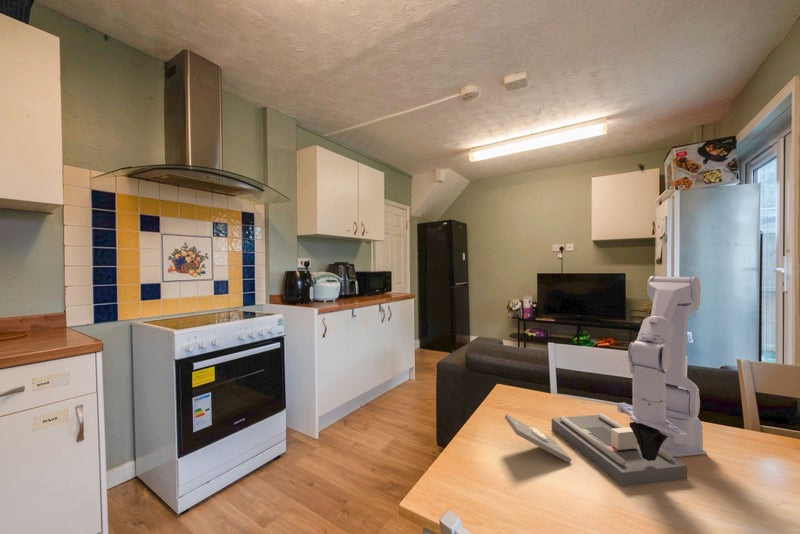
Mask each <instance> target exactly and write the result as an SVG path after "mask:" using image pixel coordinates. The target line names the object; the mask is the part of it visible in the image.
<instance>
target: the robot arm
mask: <svg viewBox="0 0 800 534" xmlns="http://www.w3.org/2000/svg"><path fill="white" fill-rule="evenodd" d="M646 283H647V284H646V293H647V295H648V297H649V299H650V302H651V303H652V307H651V313H650V316H648V317H645V318H644V319H643V321H642V323H641V325H640V329H639V331H638V335H637V337H636V339H635V340H634V341H631V342H630V344H629V345H628V349H627V350H628V351H627V359H628V363H629V372H630V373H629V374H632V405H631V404H629V403H626V402H618V403H617V412H618V413H621V414H622V413H623V414H625V415H627V416H629V420H630V421H631V422H629V424H628V425H629V426H628V427H630V428H631V429H632V431H633V432H634V434H635V436H636V439H637V441H638V444H639V447H640V451H641V454H642V457H643V458H644V459H646V460H647V461H653V460H656V457H657V454H658V451H659V449H660V448H661V449H663V450H664V451H666V452H668V453H669V454H671V455H672V456H673V457H674V458H677V457H678V458H679V457H688V456H697V455H698V456H699V455H706V454H708V453H707V451H706V450H704V446H703V444H704V442H703V441H704V438H703V437H704V430H703V429H704V428H703V424H702V421H701V419H700V418H699V417H698V416H699V413H700V410H701V409H700V408H701V399H700V389H699V386H697V384H696V383H695V382H693V381H692V380H691V379H689V378H688V377H687V376H686V374H685V373H686V358H687V355H686V354H687V339H688V337H687V336H688V320H689V317H690V315H691V313H692V312H696V311H698V310H699V307H700V305H701V281H700V279H699V278H698V277H697V276H656V275H651V276H650V277H649V278H648V280H647V282H646ZM666 384H667V385H666ZM674 386H675V387H674ZM679 387H680V388H679Z"/></svg>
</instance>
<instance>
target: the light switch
mask: <svg viewBox="0 0 800 534" xmlns="http://www.w3.org/2000/svg"><path fill="white" fill-rule="evenodd" d="M504 420H506V422H507V423H508V424H509V426H510V427H511V429H512V430H513V432H514V433H515V435H517V436H519V437H521V438H523V439H524V440H526V441H528V442H530V443H532V444H534V445H535V446H537V447H539V448H541V449H543V450H545V451H547V452H548V453H551V454H552V455H553V456H556V457H557V458H559V459H561V460H563V461H564V462H567V463H568V464H570V463H571V461H572V458H571V457H570V455H569V454H568V453H567V452H566V451H564V449H563V448H562V447H561V446H560V445H559V443H558V442H557V441H556V440H555V439H553V438H552V437H550V436H547V434H544V433H542V431H540V430H538V429H537V428H536V427H535V428H534V427H533V426H530V425H527V424H526V423H524V422H522V421H520V420H518V419H517V418H514V417H513V416H511V415H509V414H506V415H505V416H504Z"/></svg>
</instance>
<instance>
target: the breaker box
mask: <svg viewBox="0 0 800 534" xmlns="http://www.w3.org/2000/svg"><path fill="white" fill-rule="evenodd" d="M564 417H565V418H566V419H568V420H569V421H571V422H572V423H573V424H575V425H576V426H578V427H579V428H581V429H582V430H583V431H585V432H586V433H588V434H589V435H590V436H592V437H593V438H595V439H596V440H597V441H599V442H600V443H602V444H603V445H604V446H606V447H607V448H609V449H610V450H611V451H613V452H614V453H616V454H617V455H619V456H620V457H621V458H623V459H624V460H625V461H626V464H625V465H624V466H622V465H620V464H619V463H617V462H616V461H615V460H613V459H612V458H611V457H609V456H608V455H607V454H605V453H604V452H603V451H601V450H600V449H599V448H597V447H596V446H594V445H593V444H592V443H590V442H589V441H588V440H586V439H585V438H584V437H582V436H581V435H580V434H578V433H577V432H576V431H574V430H573V429H572V428H570V427H569V426H567V425H566V424H565V423H563V422H562V421H561V420H560V417H553V418H551V430H553V431H554V433H557V434H558V435H559V436H560V437H561V438H562V439H563V440H565V441H566V442H567V443H569V445H571V447H573V448H575V449H576V450H577V451H578V452H580V453H581V454H582V455H583V456H585V458H587V459H588V460H589V461H591V462H592V463H593V464H594V465H596V467H597V468H599V469H600V470H601V471H602V472H604V473H605V474H606V475H608V476H609V477H610V478H611V479H613V480H614V481H615V483H617V484H618V485H620V487H622V488H624V487H631V486H632V487H633V486H641V485H650V484H658V483H659V484H660V483H667V482H676V481H677V482H678V481H683V480H684V481H685V480H688V478H689V476H688V465H687V464H685V463H684V462H682V461H681V460H678V459H677V457H674V456H673V459H672V460H671V461H669V460H667V459H666V458H664V457H662V456H661V455H659V454H657V457H656V460H653V461H647V460H646V459H644V458H643V457H642V454H641V451H640V447H639V444H638V441H637V448H633V449H623V450H618V449H616V448H615V447H613V446H612V445H611V429H613V428H615V427H613V426H612V425H610V424H609V423H607V422H605V421H604V420H602V419H600V418H599V417H598V414H592V415H590V414H589V415H581V416H580V415H578V416H577V415H576V416H567V417H566V416H564Z"/></svg>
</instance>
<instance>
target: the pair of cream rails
mask: <svg viewBox="0 0 800 534" xmlns="http://www.w3.org/2000/svg"><path fill="white" fill-rule="evenodd" d="M597 415H598V417H599V418H600V419H602V420H604V421H605V422H607V423H609V424H610V425H612V426H613V427H615V428H625V427H626V426H623V425H622V424H620V423H618V422H617V421H616V420H613V419H612V418H611V417H608V416H606V415H605V414H604V413H601V412H599V413H597ZM565 417H566V416H563V415H561V416H560V417H559V418H560V420H561V421H562V422H563V423H565V424H566V425H567V426H569V427H570V428H572V429H573V430H574V431H576V432H577V433H578V434H580V435H581V436H582V437H584V438H585V439H586V440H588V441H589V442H590V443H592V444H593V445H594V446H596V447H597V448H599V449H600V450H601V451H603V452H604V453H605V454H607V455H608V456H609V457H611V458H612V459H613V460H615V461H616V462H617V463H619V464H620V465H622V466H624V465H625V464H626V461H625V460H624V459H623V458H621V457H620V456H619V455H617V454H616V453H614V452H613V451H611V450H610V449H609V448H607V447H606V446H604V445H603V444H602V443H600V442H599V441H597V440H596V439H595V438H593V437H592V436H590V435H589V434H588V433H586V432H585V431H583V430H582V429H581V428H579V427H578V426H576V425H575V424H573V423H572V422H571V421H569V420H568V419H566V418H565ZM658 454H659V455H661V456H662V457H664V458H666V459H667V460H669V461H671V460H672V459H673V457H674V456H672V455H671V454H669V453H668V452H666V451H664V450H663V449H661V448H660V449H659V451H658Z"/></svg>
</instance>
